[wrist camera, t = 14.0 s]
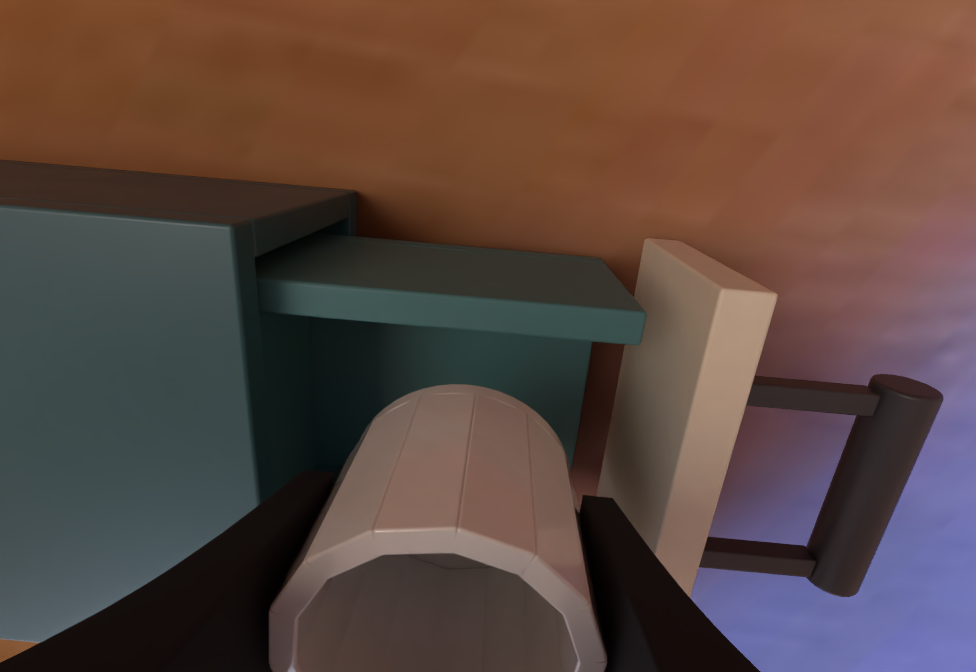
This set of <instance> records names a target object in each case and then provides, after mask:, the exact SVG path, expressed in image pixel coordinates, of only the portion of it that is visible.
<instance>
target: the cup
mask: <svg viewBox="0 0 976 672" xmlns="http://www.w3.org/2000/svg"><path fill="white" fill-rule="evenodd" d="M607 657H608V656H607V650H606V645H605V640H604V635H603V630H602V624H601V619H600V614H599V609H598V604H597V599H596V593H595V588H594V583H593V578H592V573H591V568H590V563H589V558H588V554H587V549H586V544H585V538H584V533H583V528H582V523H581V517H580V510H579V505H578V500H577V495H576V490H575V486H574V483H573V480H572V476H571V472H570V467H569V463H568V458H567V455H566V453H565V450H564V448H563V445H562V443H561V441H560V440H559V438H558V436H557V435H556V433H555V432H554V430H553V429H552V428H551V427H550V425H549V424H548V423H547V422H546V421H545V420H544V419H543V418H542V417H541V416H540V415H539V414H538V413H537V412H535V411H534V410H533V409H531V408H530V407H529V406H527V405H526V404H524V403H523V402H521V401H519V400H517V399H515V398H514V397H512V396H509V395H507V394H504V393H502V392H500V391H497V390H493V389H489V388H486V387H481V386H474V385H466V384H449V385H438V386H433V387H428V388H424V389H421V390H418V391H415V392H412V393H409V394H407V395H405V396H403V397H401V398H399V399H397V400H395V401H394V402H393V403H391V404H390V405H388V406H387V407H385V408H384V409H383V410H382V411H381V412H380V413H379V414H377V415H376V416H375V417H374V419H373V420H372V421H371V422H370V424H369V425H368V426H367V427H366V429H365V431H364V432H363V434H362V436H361V438H360V440H359V441H358V443H357V445H356V446H355V448H354V449H353V451H352V452H351V453H350V455H349V457H348V458H347V460H346V462H345V464H344V466H343V468H342V470H341V472H340V474H339V476H338V478H337V479H336V481H335V483H334V485H333V487H332V489H331V491H330V493H329V495H328V497H327V499H326V501H325V502H324V504H323V506H322V508H321V510H320V512H319V514H318V516H317V518H316V520H315V522H314V524H313V525H312V527H311V529H310V531H309V533H308V535H307V537H306V539H305V541H304V543H303V545H302V547H301V548H300V550H299V552H298V554H297V556H296V558H295V560H294V562H293V564H292V566H291V568H290V569H289V571H288V573H287V575H286V577H285V579H284V581H283V583H282V585H281V587H280V589H279V591H278V592H277V594H276V596H275V598H274V600H273V602H272V604H271V606H270V610H269V664H270V669H271V670H272V672H604V671H605V668H606V665H607V662H608V661H607Z"/></svg>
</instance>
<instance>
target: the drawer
mask: <svg viewBox="0 0 976 672" xmlns="http://www.w3.org/2000/svg"><path fill="white" fill-rule="evenodd" d="M255 269H256V280H257V292H258V304H259V316H260V328H261V340H262V352H263V364H264V376H265V388H266V400H267V412H268V424H269V436H270V448H271V460H272V472H273V484H274V493H275V492H276V491H277V490H279V489H280V488H281V487H283V486H284V485H285V484H286V483H288V482H289V481H290V480H292V479H293V478H294V477H295V476H297V475H298V474H299V473H301V472H302V471H303V470H314V471H325V472H333V474H334V483H335V481H336V479H337V478H338V476H339V474H340V472H341V470H342V468H343V466H344V464H345V462H346V460H347V458H348V457H349V455H350V453H351V452H352V451H353V449H354V448H355V446H356V445H357V443H358V441H359V440H360V438H361V436H362V434H363V432H364V431H365V429H366V427H367V426H368V425H369V424H370V422H371V421H372V420H373V419H374V417H375V416H376V415H377V414H379V413H380V412H381V411H382V410H383V409H384V408H385V407H387V406H388V405H390V404H391V403H393V402H394V401H395V400H397V399H399V398H401V397H403V396H405V395H407V394H409V393H412V392H415V391H418V390H421V389H424V388H428V387H433V386H438V385H449V384H466V385H474V386H481V387H486V388H489V389H493V390H497V391H500V392H502V393H504V394H507V395H509V396H512V397H514V398H515V399H517V400H519V401H521V402H523V403H524V404H526V405H527V406H529V407H530V408H531V409H533V410H534V411H535V412H537V413H538V414H539V415H540V416H541V417H542V418H543V419H544V420H545V421H546V422H547V423H548V424H549V425H550V427H551V428H552V429H553V430H554V432H555V433H556V435H557V436H558V438H559V440H560V441H561V443H562V445H563V448H564V450H565V453H566V455H567V458H568V463H569V467H570V472H572V466H573V460H574V454H575V447H576V441H577V435H578V429H579V423H580V417H581V411H582V405H583V399H584V392H585V386H586V380H587V374H588V368H589V362H590V356H591V350H592V344H593V342H603V343H614V344H625V347H624V352H623V357H622V363H621V368H620V373H619V379H618V384H617V389H616V395H615V400H614V405H613V411H612V416H611V421H610V426H609V432H608V437H607V442H606V448H605V453H604V458H603V464H602V469H601V474H600V480H599V485H598V490H597V496H598V497H609V498H613V499H614V500H615V502H616V503H617V504H618V506H619V507H620V508H621V510H622V511H623V512H624V514H625V515H626V517H627V518H628V519H629V521H630V522H631V523H632V525H633V526H634V528H635V529H636V530H637V532H638V533H639V534H640V536H641V537H642V538H643V540H644V541H645V542H646V544H647V545H648V546H649V548H650V549H651V550H652V552H653V553H654V554H655V556H656V557H657V558H658V559H659V561H660V562H661V563H662V564H663V566H664V567H665V568H666V569H667V571H668V572H669V573H670V574H671V576H672V577H673V578H674V579H675V581H676V582H677V583H678V584H679V586H680V587H681V588H682V589H683V590H684V592H685V593H686V594H687V595H688V596H689V597H690V595H691V592H692V589H693V585H694V582H695V578H696V575H697V571H698V568H699V567H703V568H714V569H725V570H736V571H746V572H757V573H768V574H779V575H789V576H800V577H806V578H807V579H808V580H809V581H810V582H811V583H813V584H814V585H815V586H817V587H818V588H820V589H822V590H823V591H825V592H828V593H830V594H833V595H836V596H840V597H850V596H853V595H855V594H856V593H857V592H858V591H859V588H860V586H861V584H862V582H863V579H864V577H865V575H866V573H867V570H868V568H869V566H870V564H871V561H872V559H873V557H874V555H875V552H876V550H877V548H878V546H879V543H880V541H881V539H882V537H883V534H884V532H885V530H886V528H887V525H888V523H889V521H890V519H891V516H892V514H893V512H894V510H895V507H896V505H897V503H898V501H899V498H900V496H901V494H902V492H903V489H904V487H905V485H906V483H907V480H908V478H909V476H910V474H911V471H912V469H913V467H914V465H915V462H916V460H917V458H918V456H919V453H920V451H921V449H922V447H923V444H924V442H925V440H926V438H927V435H928V433H929V431H930V429H931V426H932V424H933V422H934V420H935V417H936V415H937V413H938V411H939V408H940V406H941V404H942V402H943V395H942V393H940V392H939V391H938V390H936V389H935V388H933V387H931V386H929V385H927V384H924V383H922V382H919V381H916V380H913V379H910V378H906V377H902V376H897V375H889V374H877V375H874V376H873V377H872V378H871V379H870V382H869V384H868V387H867V386H864V385H853V384H841V383H830V382H819V381H808V380H797V379H785V378H774V377H763V376H755V373H756V369H757V366H758V362H759V359H760V356H761V352H762V349H763V345H764V342H765V338H766V335H767V332H768V328H769V325H770V321H771V318H772V315H773V311H774V308H775V304H776V301H777V293H775V292H773V291H771V290H769V289H767V288H766V287H764V286H762V285H760V284H758V283H756V282H755V281H753V280H751V279H749V278H747V277H745V276H744V275H742V274H740V273H738V272H736V271H734V270H733V269H731V268H729V267H727V266H725V265H723V264H722V263H720V262H718V261H716V260H714V259H712V258H710V257H709V256H707V255H705V254H703V253H701V252H699V251H698V250H696V249H694V248H692V247H690V246H688V245H687V244H685V243H683V242H681V241H676V240H665V239H653V238H646V239H645V240H644V246H643V251H642V256H641V262H640V267H639V272H638V278H637V283H636V288H635V294H634V297H633V296H632V295H631V294H630V292H629V291H628V290H627V289H626V288H625V286H624V285H623V284H622V283H621V282H620V280H619V279H618V278H617V277H616V276H615V274H614V273H613V272H612V271H611V270H610V268H609V267H608V266H607V265H606V264H605V262H604V261H603V260H602V259H601V258H598V257H586V256H575V255H563V254H552V253H540V252H529V251H517V250H506V249H495V248H483V247H472V246H460V245H449V244H437V243H426V242H414V241H403V240H391V239H380V238H368V237H357V236H345V235H334V234H322V233H311V234H309V235H307V236H304V237H302V238H300V239H297V240H295V241H293V242H290V243H288V244H286V245H283V246H281V247H279V248H276V249H274V250H272V251H269V252H267V253H265V254H262V255H260V256H258V257H255ZM746 405H747V406H758V407H769V408H780V409H792V410H803V411H814V412H825V413H836V414H847V415H857V416H856V418H855V421H854V424H853V426H852V429H851V431H850V434H849V437H848V439H847V442H846V445H845V447H844V450H843V452H842V455H841V458H840V460H839V463H838V466H837V468H836V471H835V473H834V476H833V479H832V481H831V484H830V487H829V489H828V492H827V494H826V497H825V500H824V502H823V505H822V507H821V510H820V513H819V515H818V518H817V521H816V523H815V526H814V528H813V531H812V534H811V536H810V539H809V542H808V544H807V547H805V546H802V545H791V544H780V543H770V542H759V541H748V540H737V539H726V538H715V537H708V534H709V530H710V527H711V523H712V520H713V517H714V513H715V510H716V506H717V503H718V499H719V496H720V493H721V489H722V486H723V482H724V479H725V476H726V472H727V469H728V465H729V462H730V458H731V455H732V452H733V448H734V445H735V441H736V438H737V434H738V431H739V428H740V424H741V421H742V417H743V414H744V410H745V407H746Z"/></svg>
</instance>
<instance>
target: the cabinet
mask: <svg viewBox="0 0 976 672" xmlns="http://www.w3.org/2000/svg"><path fill="white" fill-rule="evenodd" d="M311 233H322V234H334V235H345V236H357V199H356V191H355V190H345V189H333V188H322V187H310V186H298V185H287V184H275V183H264V182H252V181H240V180H229V179H217V178H206V177H194V176H182V175H171V174H159V173H148V172H136V171H124V170H113V169H101V168H90V167H78V166H66V165H55V164H43V163H32V162H20V161H9V160H0V639H7V640H17V641H28V642H38V643H41V642H43V641H45V640H46V639H48V638H50V637H52V636H54V635H56V634H58V633H60V632H62V631H64V630H65V629H67V628H69V627H71V626H73V625H75V624H77V623H79V622H81V621H83V620H84V619H86V618H88V617H90V616H92V615H94V614H96V613H98V612H99V611H101V610H103V609H105V608H106V607H108V606H110V605H112V604H113V603H115V602H117V601H118V600H120V599H122V598H123V597H125V596H127V595H129V594H130V593H132V592H134V591H135V590H137V589H139V588H140V587H142V586H144V585H145V584H147V583H148V582H150V581H152V580H153V579H155V578H157V577H158V576H160V575H161V574H163V573H164V572H166V571H167V570H169V569H171V568H172V567H174V566H175V565H177V564H178V563H179V562H181V561H182V560H184V559H185V558H187V557H188V556H190V555H191V554H192V553H194V552H195V551H197V550H198V549H200V548H201V547H203V546H204V545H205V544H207V543H208V542H210V541H211V540H213V539H214V538H215V537H217V536H218V535H220V534H221V533H223V532H224V531H225V530H227V529H228V528H229V527H231V526H232V525H233V524H235V523H236V522H237V521H239V520H240V519H241V518H243V517H244V516H245V515H246V514H248V513H249V512H250V511H252V510H253V509H254V508H256V507H257V506H258V505H259V504H261V503H262V502H263V501H265V500H266V499H267V498H268V497H270V496H271V495H272V494H274V484H273V472H272V460H271V448H270V436H269V424H268V412H267V400H266V388H265V376H264V364H263V352H262V340H261V328H260V316H259V304H258V292H257V280H256V269H255V257H258V256H260V255H262V254H265V253H267V252H269V251H272V250H274V249H276V248H279V247H281V246H283V245H286V244H288V243H290V242H293V241H295V240H297V239H300V238H302V237H304V236H307V235H309V234H311Z"/></svg>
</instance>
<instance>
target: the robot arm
mask: <svg viewBox="0 0 976 672" xmlns="http://www.w3.org/2000/svg"><path fill="white" fill-rule="evenodd" d="M333 485H334V474H333V472H325V471H314V470H303V471H302V472H301V473H299V474H298V475H297V476H295V477H294V478H293V479H292V480H290V481H289V482H288V483H286V484H285V485H284V486H283V487H281V488H280V489H279V490H277V491H276V492H275V493H274V494H272V495H271V496H270V497H268V498H267V499H266V500H265V501H263V502H262V503H261V504H259V505H258V506H257V507H256V508H254V509H253V510H252V511H250V512H249V513H248V514H246V515H245V516H244V517H243V518H241V519H240V520H239V521H237V522H236V523H235V524H233V525H232V526H231V527H229V528H228V529H227V530H225V531H224V532H223V533H221V534H220V535H218V536H217V537H215V538H214V539H213V540H211V541H210V542H208V543H207V544H205V545H204V546H203V547H201V548H200V549H198V550H197V551H195V552H194V553H192V554H191V555H190V556H188V557H187V558H185V559H184V560H182V561H181V562H179V563H178V564H177V565H175V566H174V567H172V568H171V569H169V570H167V571H166V572H164V573H163V574H161V575H160V576H158V577H157V578H155V579H153V580H152V581H150V582H148V583H147V584H145V585H144V586H142V587H140V588H139V589H137V590H135V591H134V592H132V593H130V594H129V595H127V596H125V597H123V598H122V599H120V600H118V601H117V602H115V603H113V604H112V605H110V606H108V607H106V608H105V609H103V610H101V611H99V612H98V613H96V614H94V615H92V616H90V617H88V618H86V619H84V620H83V621H81V622H79V623H77V624H75V625H73V626H71V627H69V628H67V629H65V630H64V631H62V632H60V633H58V634H56V635H54V636H52V637H50V638H48V639H46V640H45V641H43V642H41V643H39V644H37V645H35V646H33V647H31V648H29V649H27V650H25V651H23V652H21V653H19V654H17V655H15V656H13V657H11V658H9V659H7V660H5V661H3V662H1V663H0V672H272V670H271V669H270V664H269V610H270V606H271V604H272V602H273V600H274V598H275V596H276V594H277V592H278V591H279V589H280V587H281V585H282V583H283V581H284V579H285V577H286V575H287V573H288V571H289V569H290V568H291V566H292V564H293V562H294V560H295V558H296V556H297V554H298V552H299V550H300V548H301V547H302V545H303V543H304V541H305V539H306V537H307V535H308V533H309V531H310V529H311V527H312V525H313V524H314V522H315V520H316V518H317V516H318V514H319V512H320V510H321V508H322V506H323V504H324V502H325V501H326V499H327V497H328V495H329V493H330V491H331V489H332V487H333ZM580 517H581V523H582V528H583V533H584V538H585V544H586V549H587V554H588V558H589V563H590V568H591V573H592V578H593V583H594V588H595V593H596V599H597V604H598V609H599V614H600V619H601V624H602V630H603V635H604V640H605V645H606V650H607V656H608V657H607V661H608V662H607V665H606V668H605V671H604V672H760V671H759V670H758V669H757V668H756V667H755V666H754V665H753V664H752V663H751V662H750V661H749V660H748V659H747V658H746V657H745V656H744V655H743V654H742V653H741V652H740V651H739V650H738V649H737V648H736V647H735V646H734V645H733V644H732V643H731V642H730V641H729V640H728V639H727V638H726V637H725V636H724V635H723V634H722V633H721V632H720V631H719V630H718V629H717V628H716V627H715V626H714V625H713V623H712V622H711V621H710V620H709V619H708V618H707V617H706V616H705V615H704V613H703V612H702V611H701V610H700V609H699V608H698V607H697V606H696V604H695V603H694V602H693V601H692V600H691V599H690V597H689V596H688V595H687V594H686V593H685V592H684V590H683V589H682V588H681V587H680V586H679V584H678V583H677V582H676V581H675V579H674V578H673V577H672V576H671V574H670V573H669V572H668V571H667V569H666V568H665V567H664V566H663V564H662V563H661V562H660V561H659V559H658V558H657V557H656V556H655V554H654V553H653V552H652V550H651V549H650V548H649V546H648V545H647V544H646V542H645V541H644V540H643V538H642V537H641V536H640V534H639V533H638V532H637V530H636V529H635V528H634V526H633V525H632V523H631V522H630V521H629V519H628V518H627V517H626V515H625V514H624V512H623V511H622V510H621V508H620V507H619V506H618V504H617V503H616V502H615V500H614V499H613V498H609V497H598V496H587V495H583V498H582V503H581V509H580Z"/></svg>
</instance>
